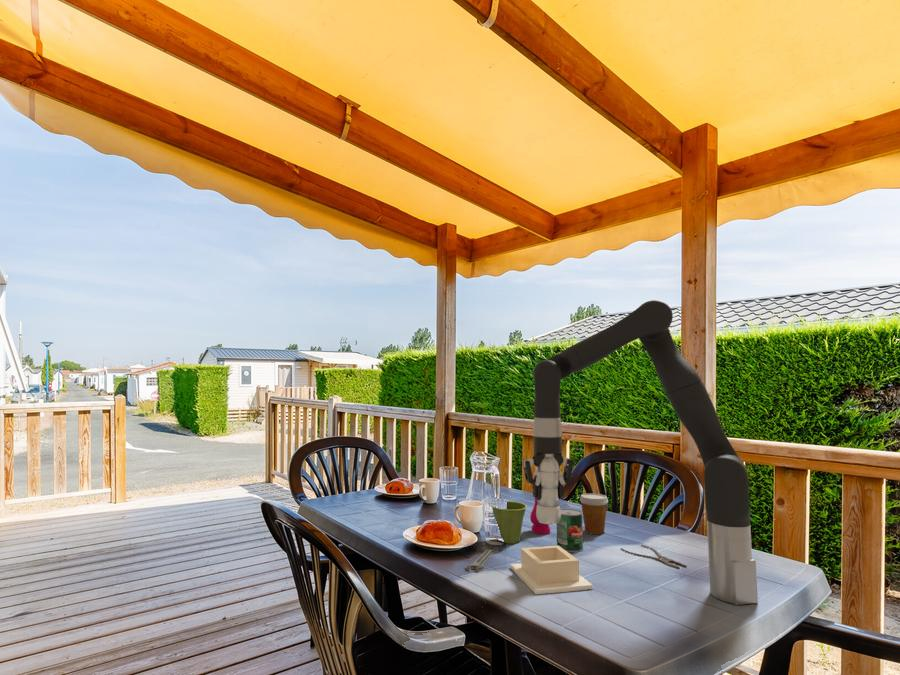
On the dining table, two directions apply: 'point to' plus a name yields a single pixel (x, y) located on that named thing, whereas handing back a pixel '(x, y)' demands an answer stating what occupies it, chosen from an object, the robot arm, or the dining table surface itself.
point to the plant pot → (510, 521)
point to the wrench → (482, 559)
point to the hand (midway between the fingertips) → (548, 498)
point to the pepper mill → (537, 526)
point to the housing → (550, 570)
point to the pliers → (660, 558)
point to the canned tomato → (570, 530)
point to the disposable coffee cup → (594, 512)
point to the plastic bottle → (548, 491)
